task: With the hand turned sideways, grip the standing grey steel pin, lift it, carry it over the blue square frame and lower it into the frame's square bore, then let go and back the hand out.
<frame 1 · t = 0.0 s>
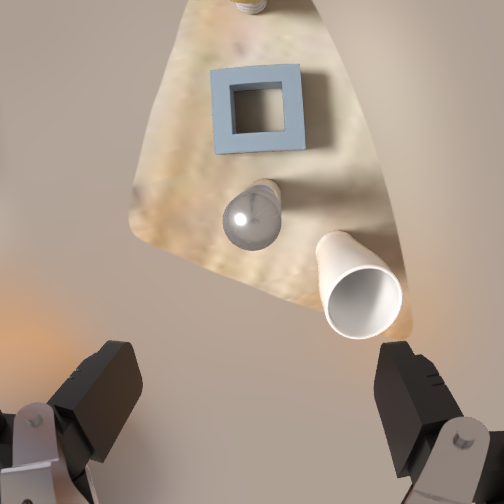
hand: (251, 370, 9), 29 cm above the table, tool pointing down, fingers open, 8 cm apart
steel pin: (264, 195, 37), on the table
blue square frame: (259, 111, 34), on the table
drinking glass: (336, 250, 38), on the table
light bulb: (251, 5, 30), on the table
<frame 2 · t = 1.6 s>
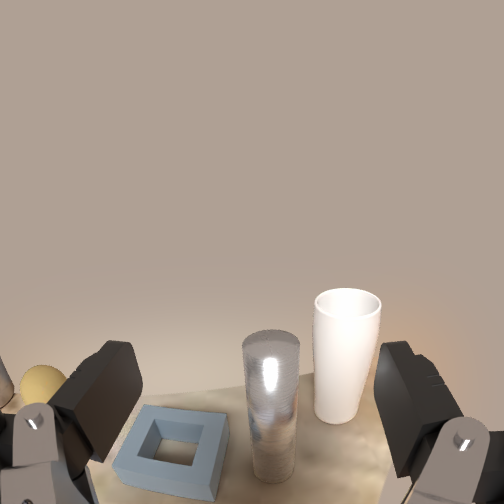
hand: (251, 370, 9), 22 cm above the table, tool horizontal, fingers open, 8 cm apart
steel pin: (273, 468, 26), on the table
blue square frame: (178, 459, 27), on the table
drinking glass: (335, 412, 33), on the table
light bulb: (68, 433, 29), on the table
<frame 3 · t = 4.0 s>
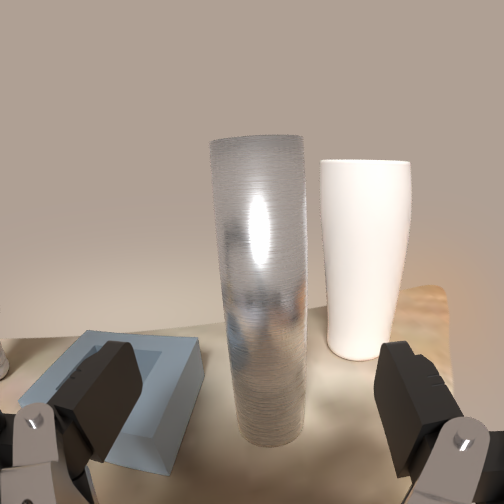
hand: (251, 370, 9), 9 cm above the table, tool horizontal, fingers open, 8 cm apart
steel pin: (270, 423, 17), on the table
blue square frame: (124, 410, 18), on the table
drinking glass: (357, 348, 25), on the table
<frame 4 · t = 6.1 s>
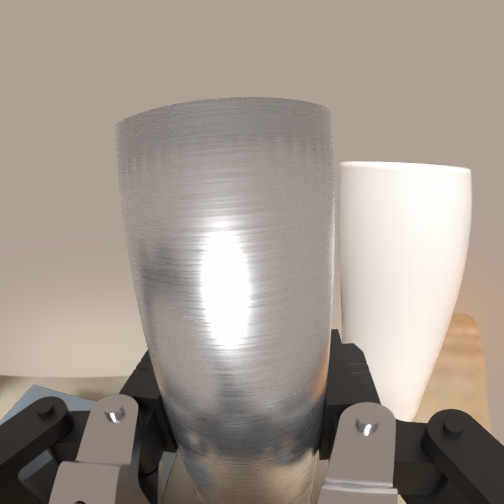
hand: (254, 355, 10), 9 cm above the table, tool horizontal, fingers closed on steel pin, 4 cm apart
blue square frame: (77, 492, 11), on the table
drinking glass: (377, 411, 17), on the table
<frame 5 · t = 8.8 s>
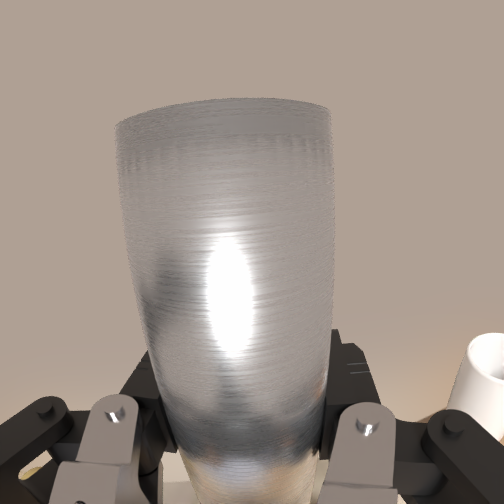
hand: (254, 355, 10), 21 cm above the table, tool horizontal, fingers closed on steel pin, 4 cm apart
drinking glass: (444, 475, 20), on the table
when the fingers open (10 cm above the table, at t = 11.5 s): steel pin drops 1 cm, resting in blue square frame.
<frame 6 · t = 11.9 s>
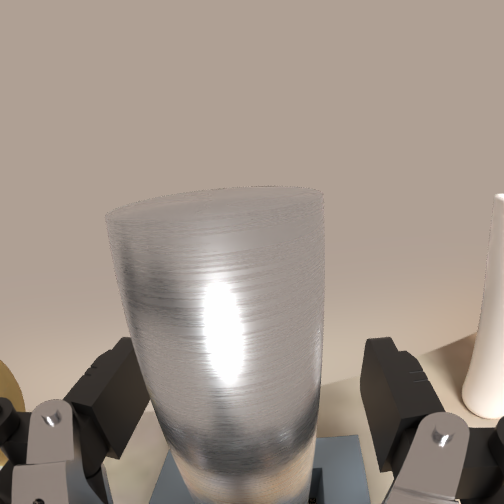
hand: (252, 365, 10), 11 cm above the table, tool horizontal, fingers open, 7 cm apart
drinking glass: (487, 401, 17), on the table
light bulb: (31, 479, 12), on the table
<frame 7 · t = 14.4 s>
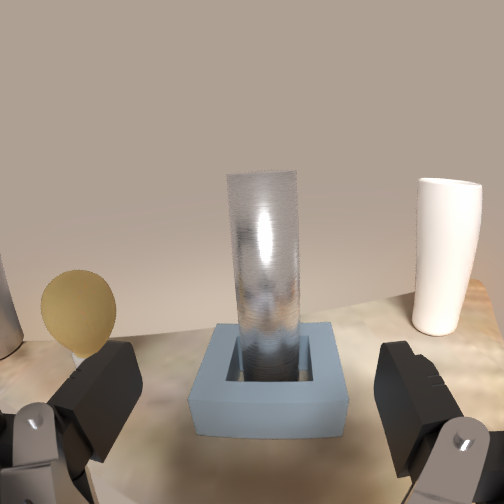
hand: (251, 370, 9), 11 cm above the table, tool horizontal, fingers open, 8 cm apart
steel pin: (272, 393, 22), resting in blue square frame
blue square frame: (272, 392, 22), on the table
drinking glass: (433, 327, 29), on the table
light bulb: (101, 379, 24), on the table
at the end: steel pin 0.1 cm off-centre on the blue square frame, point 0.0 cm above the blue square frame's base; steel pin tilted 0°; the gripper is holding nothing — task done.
